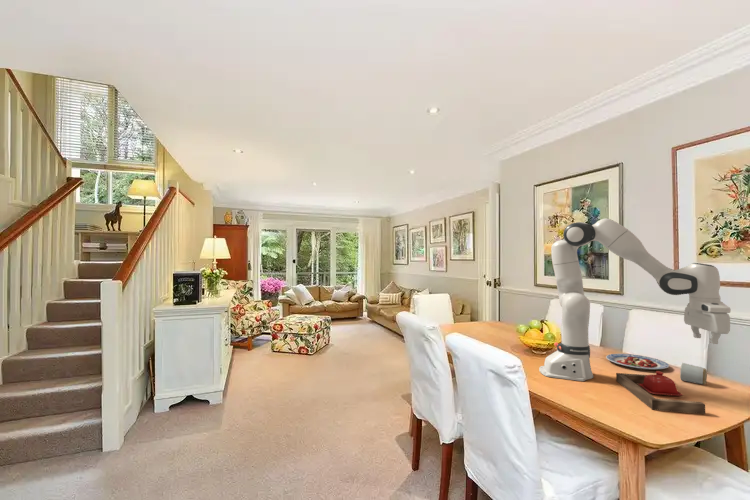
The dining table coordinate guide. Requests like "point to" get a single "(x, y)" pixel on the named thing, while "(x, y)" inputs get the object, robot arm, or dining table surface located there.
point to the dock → (654, 403)
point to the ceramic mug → (693, 374)
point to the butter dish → (660, 385)
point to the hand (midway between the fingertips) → (705, 340)
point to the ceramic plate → (637, 361)
